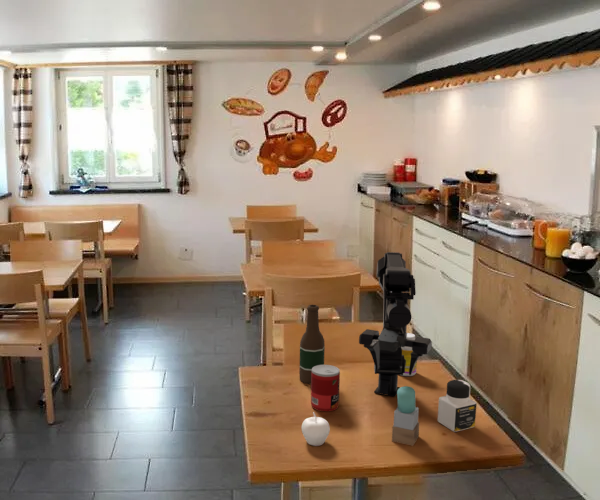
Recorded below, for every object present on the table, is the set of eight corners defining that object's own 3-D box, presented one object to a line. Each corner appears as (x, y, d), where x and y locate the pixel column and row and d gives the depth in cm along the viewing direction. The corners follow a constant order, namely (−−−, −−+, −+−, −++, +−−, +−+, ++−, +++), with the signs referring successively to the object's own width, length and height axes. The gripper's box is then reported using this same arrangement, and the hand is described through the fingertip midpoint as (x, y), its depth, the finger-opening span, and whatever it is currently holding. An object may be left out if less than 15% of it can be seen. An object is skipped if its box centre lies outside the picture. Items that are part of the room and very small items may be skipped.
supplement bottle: (417, 377, 206) (419, 338, 204) (396, 376, 207) (398, 338, 204) (414, 369, 213) (417, 332, 210) (394, 368, 213) (396, 331, 211)
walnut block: (397, 432, 169) (398, 418, 169) (418, 436, 167) (419, 422, 166) (391, 441, 164) (392, 426, 164) (413, 446, 162) (413, 431, 161)
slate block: (398, 418, 168) (399, 404, 167) (417, 422, 166) (418, 407, 165) (393, 426, 164) (394, 411, 163) (412, 430, 162) (413, 415, 161)
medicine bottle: (454, 432, 169) (457, 389, 167) (436, 421, 176) (439, 379, 173) (475, 427, 173) (478, 384, 170) (457, 416, 179) (460, 375, 177)
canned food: (336, 413, 180) (337, 375, 178) (308, 410, 181) (309, 373, 179) (340, 401, 187) (341, 365, 185) (313, 399, 189) (314, 363, 186)
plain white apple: (309, 433, 168) (310, 404, 166) (334, 440, 164) (335, 411, 163) (295, 444, 162) (296, 414, 160) (320, 452, 158) (321, 421, 157)
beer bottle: (308, 373, 208) (310, 300, 204) (328, 379, 204) (330, 305, 199) (294, 380, 202) (295, 306, 197) (314, 386, 198) (316, 310, 193)
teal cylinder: (395, 404, 165) (394, 388, 163) (411, 399, 166) (410, 384, 164) (402, 415, 162) (401, 399, 159) (418, 410, 162) (418, 395, 160)
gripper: (352, 319, 169) (351, 375, 172) (423, 329, 162) (420, 388, 165) (366, 308, 179) (364, 362, 182) (433, 317, 172) (430, 373, 175)
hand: (393, 371), depth 176 cm, fingers open, 9 cm apart
